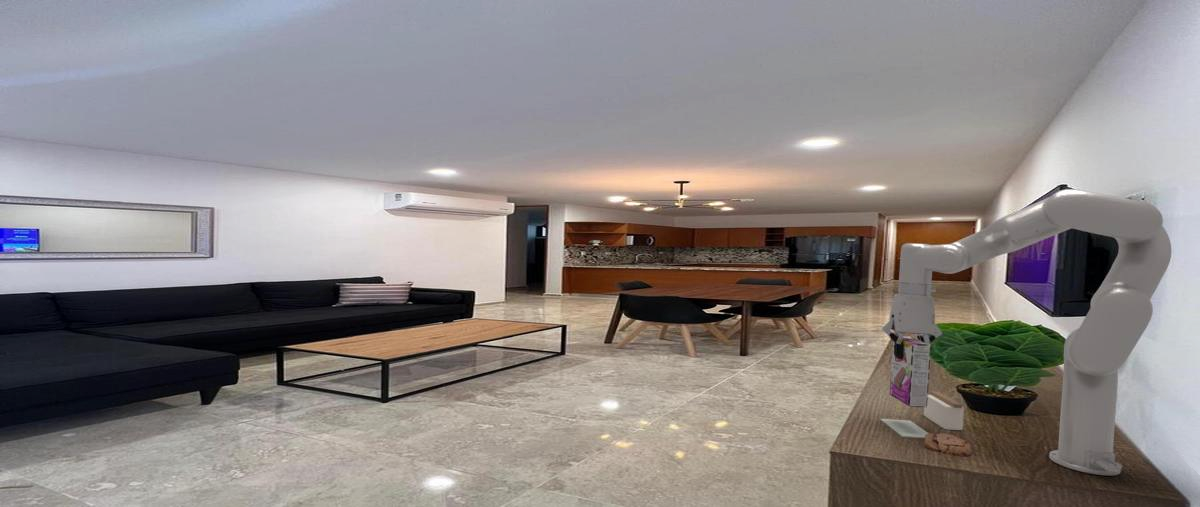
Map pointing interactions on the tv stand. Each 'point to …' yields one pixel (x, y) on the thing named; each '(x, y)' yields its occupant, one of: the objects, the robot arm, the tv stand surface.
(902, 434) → the stub pad
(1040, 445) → the tv stand surface
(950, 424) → the block
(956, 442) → the cookie
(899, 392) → the candy bar box
